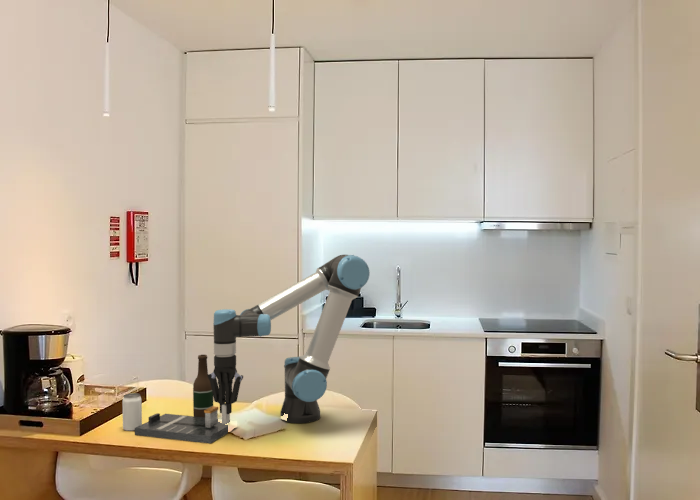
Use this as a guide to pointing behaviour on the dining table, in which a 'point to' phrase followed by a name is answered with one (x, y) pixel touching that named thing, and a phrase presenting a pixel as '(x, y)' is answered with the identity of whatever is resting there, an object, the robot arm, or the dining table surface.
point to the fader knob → (211, 416)
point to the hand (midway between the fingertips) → (225, 422)
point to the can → (132, 411)
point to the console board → (181, 428)
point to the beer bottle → (202, 389)
